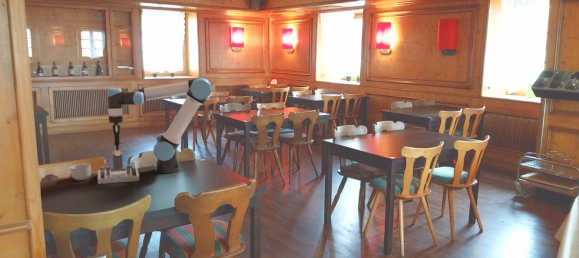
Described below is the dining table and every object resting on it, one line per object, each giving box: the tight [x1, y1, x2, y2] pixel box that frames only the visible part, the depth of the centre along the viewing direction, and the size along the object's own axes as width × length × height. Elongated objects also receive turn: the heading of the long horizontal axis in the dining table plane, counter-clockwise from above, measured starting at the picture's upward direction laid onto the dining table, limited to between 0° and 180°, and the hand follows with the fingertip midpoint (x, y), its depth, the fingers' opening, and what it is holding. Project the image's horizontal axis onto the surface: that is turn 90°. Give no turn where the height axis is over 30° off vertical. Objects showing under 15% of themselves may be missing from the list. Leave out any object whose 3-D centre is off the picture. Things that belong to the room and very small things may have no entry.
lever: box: [110, 150, 126, 172], centre depth 272 cm, size 8×2×12 cm, turn 111°
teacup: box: [69, 162, 92, 181], centre depth 270 cm, size 14×11×8 cm
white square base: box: [100, 161, 136, 178], centre depth 272 cm, size 19×19×4 cm
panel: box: [97, 163, 140, 185], centre depth 272 cm, size 22×18×7 cm
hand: (117, 155), depth 271 cm, fingers closed
